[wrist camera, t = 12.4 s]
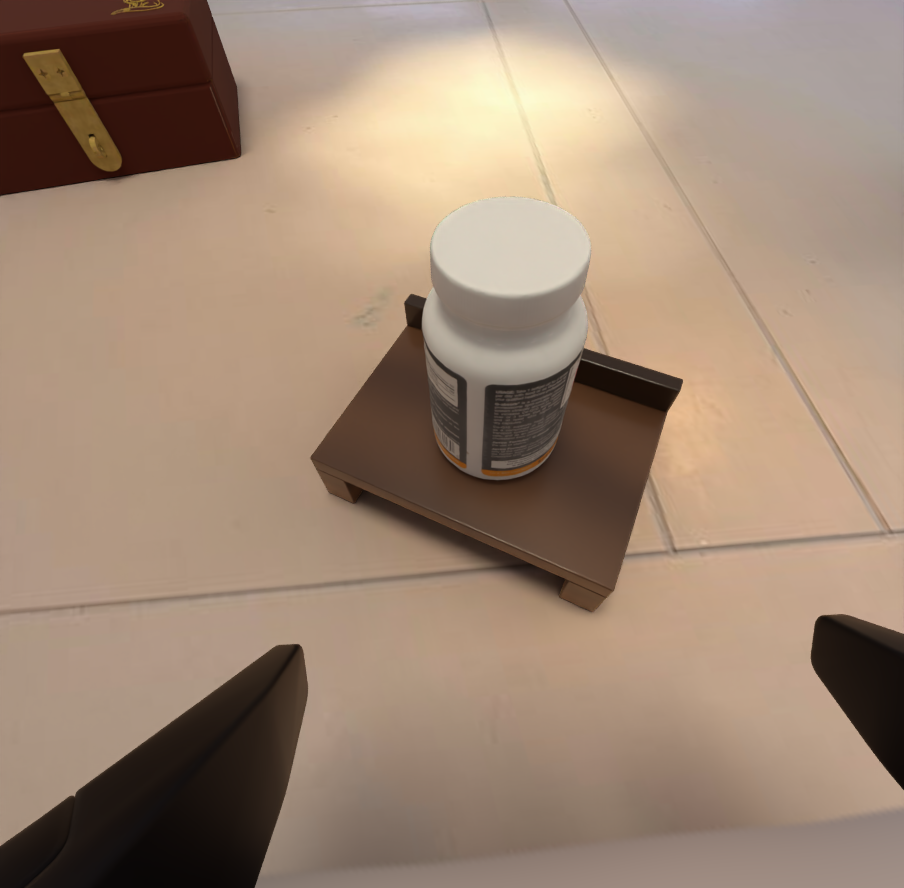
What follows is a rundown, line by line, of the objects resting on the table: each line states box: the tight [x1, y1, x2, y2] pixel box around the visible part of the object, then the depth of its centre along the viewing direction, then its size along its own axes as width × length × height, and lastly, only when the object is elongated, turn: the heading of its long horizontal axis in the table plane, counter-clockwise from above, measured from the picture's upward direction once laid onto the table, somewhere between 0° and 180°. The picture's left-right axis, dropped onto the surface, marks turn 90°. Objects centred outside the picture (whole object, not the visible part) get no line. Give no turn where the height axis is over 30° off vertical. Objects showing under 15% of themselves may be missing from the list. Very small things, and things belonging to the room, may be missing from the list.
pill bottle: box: [422, 197, 591, 480], centre depth 18 cm, size 6×6×10 cm
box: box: [0, 0, 241, 195], centre depth 41 cm, size 21×16×10 cm
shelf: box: [311, 294, 683, 612], centre depth 23 cm, size 10×14×5 cm
